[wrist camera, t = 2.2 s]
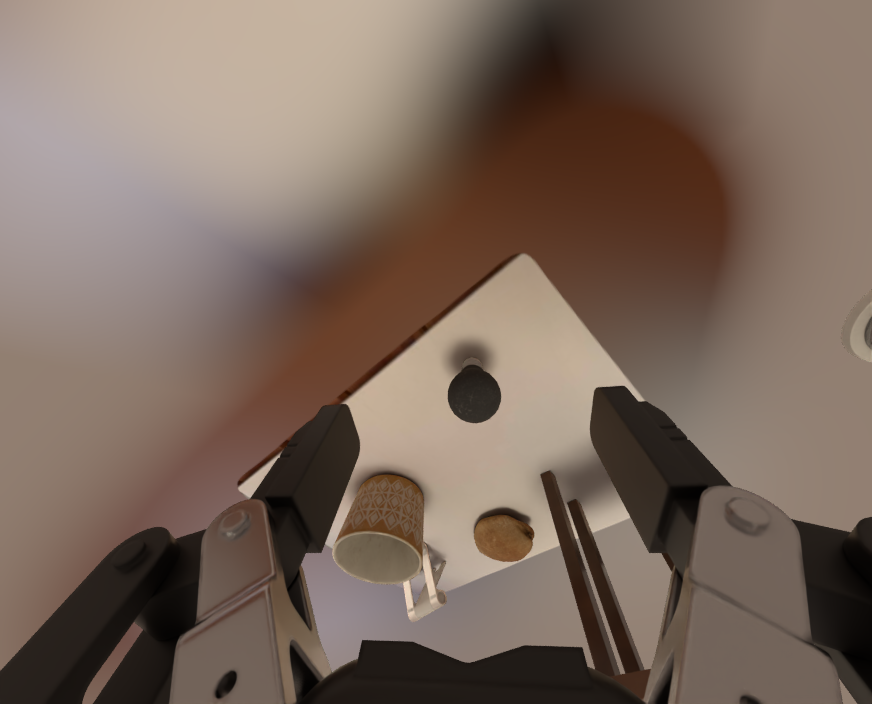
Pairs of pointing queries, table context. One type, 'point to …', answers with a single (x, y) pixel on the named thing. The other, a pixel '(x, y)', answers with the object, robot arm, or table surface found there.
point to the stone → (503, 538)
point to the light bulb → (474, 393)
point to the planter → (383, 532)
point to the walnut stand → (585, 597)
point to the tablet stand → (425, 591)
